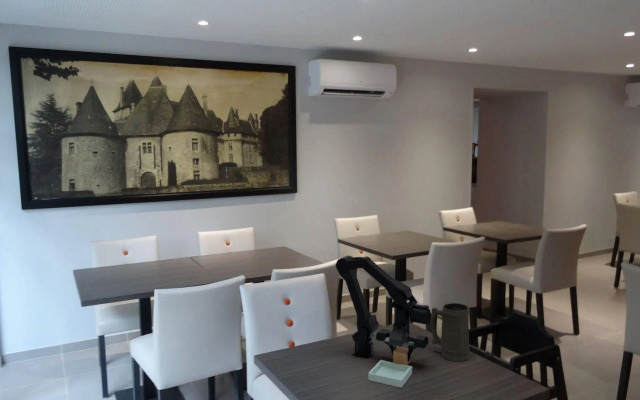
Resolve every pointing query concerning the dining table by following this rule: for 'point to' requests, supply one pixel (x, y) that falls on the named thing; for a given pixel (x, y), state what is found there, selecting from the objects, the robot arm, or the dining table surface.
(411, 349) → the robot arm
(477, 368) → the dining table surface
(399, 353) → the orange cube
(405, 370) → the sage tray
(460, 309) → the beer stein
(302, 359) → the dining table surface
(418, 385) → the dining table surface
